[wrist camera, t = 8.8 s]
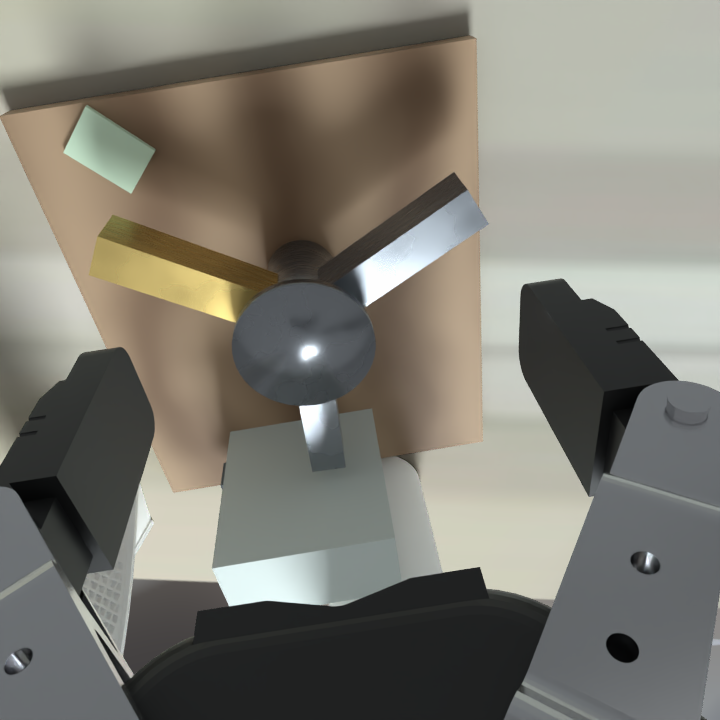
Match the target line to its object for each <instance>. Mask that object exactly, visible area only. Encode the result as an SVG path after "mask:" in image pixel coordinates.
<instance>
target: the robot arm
mask: <svg viewBox="0 0 720 720" xmlns="http://www.w3.org/2000/svg"><path fill="white" fill-rule="evenodd" d="M519 359H520V365H521V369H522V373H523V376H524V378H525V380H526V382H527V384H528V386H529V387H530V389H531V391H532V393H533V395H534V397H535V399H536V400H537V402H538V404H539V406H540V408H541V410H542V411H543V413H544V415H545V417H546V419H547V421H548V422H549V424H550V426H551V428H552V430H553V432H554V434H555V435H556V437H557V439H558V441H559V443H560V445H561V446H562V448H563V450H564V452H565V454H566V456H567V457H568V459H569V461H570V463H571V465H572V467H573V468H574V470H575V472H576V474H577V476H578V478H579V480H580V481H581V483H582V485H583V487H584V489H585V491H586V492H587V494H588V496H589V497H591V496H594V498H593V501H592V503H591V506H590V509H589V511H588V514H587V517H586V519H585V522H584V525H583V527H582V530H581V532H580V535H579V538H578V540H577V543H576V546H575V548H574V551H573V553H572V556H571V559H570V561H569V564H568V567H567V569H566V572H565V574H564V577H563V580H562V582H561V585H560V588H559V590H558V593H557V596H556V598H555V601H554V604H553V606H552V608H551V607H549V606H547V605H545V604H542V603H540V602H538V601H536V600H533V599H531V598H527V597H524V596H521V595H518V594H515V593H510V592H505V591H500V590H492V589H486V586H485V583H484V579H483V576H482V573H481V569H480V567H477V568H471V569H464V570H458V571H452V572H445V573H439V574H432V575H426V576H420V577H413V578H409V579H407V580H404V581H402V582H399V583H397V584H395V585H392V586H390V587H387V588H385V589H382V590H380V591H378V592H375V593H373V594H370V595H368V596H365V597H363V598H361V599H358V600H356V601H353V602H351V603H348V604H345V605H342V606H322V605H312V604H301V603H290V602H279V601H260V602H254V603H248V604H241V605H235V606H229V607H222V608H216V609H210V610H203V611H198V613H197V619H196V626H195V633H194V636H192V637H190V638H188V639H186V640H183V641H182V642H180V643H178V644H176V645H174V646H172V647H170V648H169V649H167V650H166V651H164V652H163V653H161V654H160V655H158V656H157V657H155V658H154V659H153V660H151V661H150V662H149V663H148V664H146V665H145V666H144V667H143V668H142V669H140V670H139V671H138V672H137V673H136V674H135V675H134V674H133V673H132V671H131V670H130V668H129V666H128V665H127V663H126V661H125V660H124V658H123V656H122V654H121V653H120V651H119V649H118V648H117V646H116V644H115V642H114V641H113V639H112V637H111V636H110V634H109V632H108V630H107V629H106V627H105V625H104V623H103V622H102V620H101V618H100V617H99V615H98V613H97V611H96V610H95V608H94V606H93V605H92V603H91V601H90V599H89V598H88V596H87V595H86V593H85V592H84V590H83V589H82V587H83V584H84V581H85V579H86V576H87V574H89V573H95V572H102V571H108V570H114V567H115V563H116V560H117V557H118V553H119V550H120V547H121V543H122V540H123V537H124V534H125V530H126V527H127V524H128V520H129V517H130V514H131V510H132V507H133V504H134V500H135V497H136V494H137V491H138V487H139V484H140V481H141V477H142V474H143V471H144V467H145V464H146V461H147V457H148V454H149V451H150V448H151V444H152V441H153V438H154V432H155V421H154V414H153V410H152V407H151V404H150V402H149V400H148V398H147V395H146V393H145V391H144V388H143V386H142V384H141V381H140V379H139V377H138V375H137V372H136V370H135V368H134V365H133V363H132V361H131V358H130V356H129V354H128V353H127V351H126V350H125V349H124V348H122V347H116V348H110V349H104V350H97V351H91V352H84V353H82V354H81V355H80V356H79V357H78V359H77V361H76V363H75V365H74V366H73V368H72V370H71V372H70V374H69V375H68V377H67V379H66V380H64V381H59V382H58V383H57V384H56V385H55V386H54V387H53V388H51V389H50V390H49V391H48V392H47V393H46V394H45V395H44V396H43V397H41V398H40V399H39V401H38V403H37V404H36V406H35V408H34V409H33V411H32V413H31V414H30V416H29V421H28V422H26V423H25V425H24V426H23V428H22V430H21V431H20V433H19V434H20V437H17V438H16V440H15V442H14V443H13V445H12V447H11V448H10V450H9V452H8V454H7V455H6V457H5V459H4V460H3V462H2V464H1V465H0V720H707V719H705V718H704V717H702V716H701V712H702V706H703V699H704V692H705V686H706V680H707V673H708V666H709V660H710V654H711V647H712V641H713V634H714V628H715V621H716V615H717V608H718V602H719V595H720V392H719V391H717V390H714V389H712V388H710V387H707V386H704V385H701V384H697V383H693V382H687V381H679V380H678V379H677V378H676V377H675V376H674V375H673V374H672V372H671V371H670V370H669V369H668V368H667V367H666V366H665V365H664V364H663V363H662V361H661V360H660V359H659V358H658V357H657V356H656V355H655V354H654V353H653V352H652V350H651V349H650V348H649V347H648V346H647V345H646V344H645V343H644V342H643V341H640V337H639V336H638V335H637V334H636V333H635V332H634V331H633V330H632V328H629V327H628V324H627V323H626V322H625V321H624V320H623V319H622V317H621V316H620V315H619V314H618V313H617V312H616V311H615V310H614V309H612V308H610V307H608V306H606V305H604V304H602V303H600V302H598V301H596V300H594V299H586V300H581V299H580V298H579V297H578V295H577V294H576V293H575V292H574V291H573V289H572V288H571V287H570V286H569V285H568V283H567V282H566V281H565V280H564V279H555V280H548V281H542V282H536V283H529V284H524V285H523V287H522V290H521V298H520V327H519Z"/></svg>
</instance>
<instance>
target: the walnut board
mask: <svg viewBox="0 0 720 720" xmlns="http://www.w3.org/2000/svg"><path fill="white" fill-rule="evenodd" d="M87 105H88V106H90V107H91V108H93V109H94V110H96V111H97V112H99V113H100V114H102V115H104V116H105V117H107V118H108V119H110V120H111V121H113V122H114V123H116V124H117V125H119V126H121V127H122V128H124V129H125V130H127V131H128V132H130V133H131V134H133V135H134V136H136V137H138V138H139V139H141V140H142V141H144V142H145V143H147V144H148V145H150V146H151V147H153V148H154V149H156V150H155V152H154V154H153V156H152V158H151V159H150V161H149V163H148V165H147V167H146V168H145V170H144V172H143V174H142V176H141V177H140V179H139V181H138V183H137V185H136V186H135V188H134V190H133V192H132V193H129V192H127V191H126V190H124V189H122V188H121V187H119V186H117V185H116V184H114V183H113V182H111V181H109V180H108V179H106V178H104V177H103V176H101V175H99V174H98V173H96V172H94V171H93V170H91V169H89V168H88V167H86V166H84V165H83V164H81V163H79V162H78V161H76V160H74V159H73V158H71V157H69V156H68V155H66V154H64V153H63V152H64V150H65V148H66V146H67V144H68V142H69V140H70V137H71V135H72V133H73V131H74V129H75V127H76V125H77V123H78V121H79V119H80V117H81V115H82V112H83V110H84V108H85V106H87ZM0 119H1V121H2V123H3V125H4V127H5V129H6V132H7V134H8V136H9V138H10V140H11V142H12V145H13V147H14V149H15V151H16V153H17V155H18V158H19V160H20V162H21V164H22V166H23V168H24V171H25V173H26V175H27V177H28V179H29V181H30V183H31V186H32V188H33V190H34V192H35V194H36V196H37V199H38V201H39V203H40V205H41V207H42V209H43V212H44V214H45V216H46V218H47V220H48V222H49V225H50V227H51V229H52V231H53V233H54V235H55V238H56V240H57V242H58V244H59V246H60V248H61V251H62V253H63V255H64V257H65V259H66V261H67V263H68V266H69V268H70V270H71V272H72V274H73V276H74V279H75V281H76V283H77V285H78V287H79V289H80V292H81V294H82V296H83V298H84V300H85V302H86V305H87V307H88V309H89V311H90V313H91V315H92V318H93V320H94V322H95V324H96V326H97V328H98V331H99V333H100V335H101V337H102V339H103V341H104V343H105V346H106V348H107V349H110V348H116V347H122V348H124V349H125V350H126V351H127V353H128V354H129V356H130V358H131V361H132V363H133V365H134V368H135V370H136V372H137V375H138V377H139V379H140V381H141V384H142V386H143V388H144V391H145V393H146V395H147V398H148V400H149V402H150V404H151V407H152V410H153V414H154V421H155V432H154V438H153V441H152V444H151V445H152V447H153V449H154V452H155V454H156V456H157V458H158V460H159V462H160V465H161V467H162V469H163V471H164V473H165V475H166V478H167V480H168V482H169V484H170V486H171V488H172V491H173V493H175V492H181V491H187V490H193V489H199V488H205V487H211V486H217V485H221V479H222V471H223V464H224V463H226V460H227V452H228V445H229V437H230V432H232V431H238V430H244V429H250V428H256V427H262V426H268V425H274V424H280V423H286V422H293V421H299V420H302V418H301V413H300V407H299V406H295V405H288V404H283V403H279V402H276V401H273V400H271V399H269V398H267V397H265V396H263V395H261V394H260V393H258V392H256V391H255V390H254V389H253V388H252V387H250V386H249V385H248V384H247V383H246V382H245V380H244V379H243V378H242V376H241V375H240V373H239V372H238V370H237V368H236V365H235V363H234V360H233V355H232V338H233V331H234V326H235V322H232V321H229V320H226V319H223V318H219V317H216V316H213V315H210V314H207V313H204V312H201V311H198V310H195V309H192V308H189V307H185V306H182V305H179V304H176V303H173V302H170V301H167V300H164V299H161V298H158V297H154V296H151V295H148V294H145V293H142V292H139V291H136V290H133V289H130V288H127V287H124V286H120V285H117V284H114V283H111V282H108V281H105V280H102V279H99V278H96V277H93V276H90V275H89V271H90V267H91V262H92V258H93V253H94V249H95V244H96V240H97V236H98V235H99V233H100V232H101V230H102V229H103V228H104V226H105V225H106V223H107V222H108V221H109V219H110V218H111V216H112V215H116V216H118V217H121V218H124V219H127V220H130V221H132V222H135V223H138V224H141V225H144V226H146V227H149V228H152V229H155V230H158V231H160V232H163V233H166V234H169V235H171V236H174V237H177V238H180V239H183V240H185V241H188V242H191V243H194V244H197V245H199V246H202V247H205V248H208V249H211V250H213V251H216V252H219V253H222V254H225V255H227V256H230V257H233V258H236V259H238V260H241V261H244V262H247V263H250V264H252V265H255V266H258V267H261V268H264V269H266V270H268V264H269V261H270V259H271V257H272V255H273V254H274V252H275V251H276V250H277V249H278V248H280V247H281V246H283V245H284V244H286V243H289V242H292V241H296V240H307V241H312V242H315V243H317V244H319V245H321V246H323V247H324V248H325V249H326V250H327V251H328V252H329V253H330V254H331V255H332V257H333V258H334V257H335V256H336V255H338V254H339V253H341V252H342V251H343V250H345V249H346V248H348V247H349V246H350V245H352V244H353V243H355V242H356V241H357V240H359V239H360V238H362V237H363V236H364V235H366V234H367V233H369V232H370V231H371V230H373V229H374V228H376V227H377V226H378V225H380V224H381V223H383V222H384V221H386V220H387V219H388V218H390V217H391V216H393V215H394V214H395V213H397V212H398V211H400V210H401V209H402V208H404V207H405V206H407V205H408V204H409V203H411V202H412V201H414V200H415V199H416V198H418V197H419V196H421V195H422V194H423V193H425V192H426V191H428V190H429V189H430V188H432V187H433V186H435V185H436V184H437V183H439V182H440V181H442V180H443V179H445V178H446V177H447V176H449V175H450V174H452V173H453V172H455V174H456V175H457V176H458V178H459V179H460V180H461V182H462V183H463V184H464V185H465V187H466V188H467V189H468V191H469V193H470V194H471V196H472V197H473V199H474V201H475V202H476V204H477V206H478V207H479V172H478V110H477V47H476V38H474V37H472V36H463V37H457V38H451V39H445V40H439V41H433V42H427V43H420V44H414V45H408V46H402V47H396V48H390V49H384V50H378V51H371V52H365V53H359V54H353V55H347V56H341V57H335V58H329V59H323V60H316V61H310V62H304V63H298V64H292V65H286V66H280V67H274V68H267V69H261V70H255V71H249V72H243V73H237V74H231V75H225V76H219V77H212V78H206V79H200V80H194V81H188V82H182V83H176V84H170V85H163V86H157V87H151V88H145V89H139V90H133V91H127V92H121V93H114V94H108V95H102V96H96V97H90V98H84V99H78V100H72V101H66V102H59V103H53V104H47V105H41V106H35V107H29V108H23V109H17V110H10V111H9V112H7V113H5V114H3V115H1V116H0ZM365 309H366V311H367V313H368V315H369V317H370V319H371V322H372V325H373V329H374V334H375V340H376V350H375V357H374V360H373V363H372V366H371V368H370V370H369V372H368V373H367V375H366V376H365V378H364V379H363V380H362V381H361V382H360V383H359V384H358V385H357V386H356V387H355V388H354V389H353V390H351V391H350V392H349V393H347V394H345V395H344V396H342V397H340V398H338V399H337V403H338V410H339V414H341V413H347V412H353V411H359V410H365V409H371V408H372V412H373V417H374V423H375V428H376V434H377V440H378V445H379V451H380V456H381V458H386V457H392V456H398V455H404V454H410V453H416V452H422V451H428V450H434V449H440V448H446V447H452V446H458V445H464V444H470V443H476V442H482V441H483V423H482V360H481V297H480V235H479V231H478V232H476V233H475V234H473V235H472V236H470V237H469V238H467V239H466V240H464V241H463V242H461V243H460V244H458V245H457V246H455V247H454V248H452V249H451V250H449V251H448V252H446V253H445V254H443V255H442V256H441V257H439V258H438V259H436V260H435V261H433V262H432V263H430V264H429V265H427V266H426V267H424V268H423V269H421V270H420V271H418V272H417V273H415V274H414V275H412V276H411V277H409V278H408V279H406V280H405V281H403V282H402V283H400V284H399V285H397V286H396V287H394V288H393V289H391V290H390V291H388V292H387V293H385V294H384V295H382V296H381V297H379V298H378V299H376V300H375V301H374V302H372V303H371V304H369V305H368V306H366V307H365Z"/></svg>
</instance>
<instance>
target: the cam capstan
mask: <svg viewBox="0 0 720 720" xmlns="http://www.w3.org/2000/svg"><path fill="white" fill-rule="evenodd" d="M487 225H488V222H487V220H486V219H485V217H484V215H483V214H482V212H481V210H480V209H479V207H478V206H477V204H476V202H475V201H474V199H473V197H472V196H471V194H470V193H469V191H468V189H467V188H466V187H465V185H464V184H463V183H462V182H461V180H460V179H459V178H458V176H457V175H456V174H455V172H453V173H452V174H450V175H449V176H447V177H446V178H445V179H443V180H442V181H440V182H439V183H437V184H436V185H435V186H433V187H432V188H430V189H429V190H428V191H426V192H425V193H423V194H422V195H421V196H419V197H418V198H416V199H415V200H414V201H412V202H411V203H409V204H408V205H407V206H405V207H404V208H402V209H401V210H400V211H398V212H397V213H395V214H394V215H393V216H391V217H390V218H388V219H387V220H386V221H384V222H383V223H381V224H380V225H378V226H377V227H376V228H374V229H373V230H371V231H370V232H369V233H367V234H366V235H364V236H363V237H362V238H360V239H359V240H357V241H356V242H355V243H353V244H352V245H350V246H349V247H348V248H346V249H345V250H343V251H342V252H341V253H339V254H338V255H336V256H335V257H334V258H333V257H332V255H331V254H330V253H329V252H328V251H327V250H326V249H325V248H324V247H323V246H321V245H319V244H317V243H315V242H312V241H307V240H296V241H292V242H289V243H286V244H284V245H283V246H281V247H280V248H278V249H277V250H276V251H275V252H274V254H273V255H272V257H271V259H270V261H269V264H268V270H266V269H264V268H261V267H258V266H255V265H252V264H250V263H247V262H244V261H241V260H238V259H236V258H233V257H230V256H227V255H225V254H222V253H219V252H216V251H213V250H211V249H208V248H205V247H202V246H199V245H197V244H194V243H191V242H188V241H185V240H183V239H180V238H177V237H174V236H171V235H169V234H166V233H163V232H160V231H158V230H155V229H152V228H149V227H146V226H144V225H141V224H138V223H135V222H132V221H130V220H127V219H124V218H121V217H118V216H116V215H112V216H111V218H110V219H109V221H108V222H107V223H106V225H105V226H104V228H103V229H102V230H101V232H100V233H99V235H98V236H97V240H96V244H95V249H94V253H93V258H92V262H91V267H90V271H89V275H90V276H93V277H96V278H99V279H102V280H105V281H108V282H111V283H114V284H117V285H120V286H124V287H127V288H130V289H133V290H136V291H139V292H142V293H145V294H148V295H151V296H154V297H158V298H161V299H164V300H167V301H170V302H173V303H176V304H179V305H182V306H185V307H189V308H192V309H195V310H198V311H201V312H204V313H207V314H210V315H213V316H216V317H219V318H223V319H226V320H229V321H232V322H235V326H234V331H233V338H232V355H233V360H234V363H235V365H236V368H237V370H238V372H239V373H240V375H241V376H242V378H243V379H244V380H245V382H246V383H247V384H248V385H249V386H250V387H252V388H253V389H254V390H255V391H256V392H258V393H260V394H261V395H263V396H265V397H267V398H269V399H271V400H273V401H276V402H279V403H283V404H288V405H295V406H299V407H300V413H301V418H302V423H303V428H304V433H305V438H306V443H307V448H308V453H309V458H310V463H311V468H312V472H316V471H323V470H330V469H338V468H345V467H346V465H345V455H344V446H343V437H342V430H341V423H340V417H339V410H338V403H337V399H338V398H340V397H342V396H344V395H345V394H347V393H349V392H350V391H351V390H353V389H354V388H355V387H356V386H357V385H358V384H359V383H360V382H361V381H362V380H363V379H364V378H365V376H366V375H367V373H368V372H369V370H370V368H371V366H372V363H373V360H374V357H375V350H376V340H375V334H374V329H373V325H372V322H371V319H370V317H369V315H368V313H367V311H366V309H365V307H366V306H368V305H369V304H371V303H372V302H374V301H375V300H376V299H378V298H379V297H381V296H382V295H384V294H385V293H387V292H388V291H390V290H391V289H393V288H394V287H396V286H397V285H399V284H400V283H402V282H403V281H405V280H406V279H408V278H409V277H411V276H412V275H414V274H415V273H417V272H418V271H420V270H421V269H423V268H424V267H426V266H427V265H429V264H430V263H432V262H433V261H435V260H436V259H438V258H439V257H441V256H442V255H443V254H445V253H446V252H448V251H449V250H451V249H452V248H454V247H455V246H457V245H458V244H460V243H461V242H463V241H464V240H466V239H467V238H469V237H470V236H472V235H473V234H475V233H476V232H478V231H479V230H481V229H482V228H484V227H485V226H487Z"/></svg>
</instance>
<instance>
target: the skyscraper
mask: <svg viewBox="0 0 720 720" xmlns="http://www.w3.org/2000/svg"><path fill="white" fill-rule="evenodd" d="M153 524H154V523H153V521H152V520H151V517H150V514H149V511H148V507H147V504H146V501H145V497H144V494H143V491H142V487H141V484H139V487H138V491H137V494H136V497H135V500H134V504H133V507H132V510H131V514H130V517H129V520H128V524H127V527H126V530H125V534H124V537H123V540H122V543H121V547H120V550H119V553H118V557H117V560H116V563H115V567H114V570H108V571H102V572H95V573H89V574H87V576H86V579H85V581H84V584H83V587H82V589H83V590H84V592H85V593H86V595H87V596H88V598H89V599H90V601H91V603H92V605H93V606H94V608H95V610H96V611H97V613H98V615H99V617H100V618H101V620H102V622H103V623H104V625H105V627H106V629H107V630H108V632H109V634H110V636H111V637H112V639H113V641H114V642H115V644H116V646H117V648H118V649H119V651H120V653H121V654H122V656H123V652H124V645H125V638H126V631H127V624H128V618H129V610H130V601H131V591H132V581H133V572H134V560H135V555H136V553H137V551H138V550H139V548H140V546H141V545H142V543H143V541H144V540H145V538H146V536H147V534H148V533H149V531H150V529H151V528H152V526H153Z"/></svg>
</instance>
